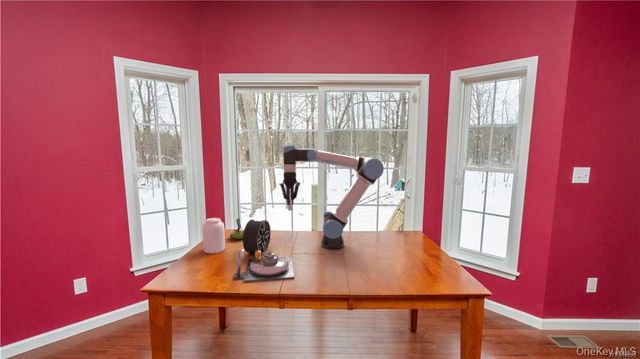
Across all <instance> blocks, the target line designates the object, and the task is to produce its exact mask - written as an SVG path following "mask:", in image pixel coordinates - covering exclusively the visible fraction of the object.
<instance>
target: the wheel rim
mask: <svg viewBox="0 0 640 359" xmlns="http://www.w3.org/2000/svg"><path fill="white" fill-rule="evenodd" d="M271 230H272V228H271V225H270V222H269V221H268V220H266V219H264V220H254V219H249V220H248V221H247V223H246V224H245V227H244V230H243V231H244V233H243V238H242V246H243V250H244V252H245V253H253V252H254V253H255V251H257V250H260V251H261V255H263V254H265V253H266V252H267V250H268V248H269V247H270V246H269V245H270V241H271V235H272V234H271Z"/></svg>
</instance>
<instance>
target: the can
mask: <svg viewBox="0 0 640 359" xmlns="http://www.w3.org/2000/svg"><path fill="white" fill-rule="evenodd" d="M225 236H226V235H225V224H224V222H223V221H221V218H220V217H210V218H207V219H205V223H203V225H202V244H203V252H204V253H205V254H218V253H221V252H223V251H225V249H226V240H225V238H226V237H225Z"/></svg>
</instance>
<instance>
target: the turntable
mask: <svg viewBox="0 0 640 359" xmlns="http://www.w3.org/2000/svg"><path fill="white" fill-rule="evenodd" d="M277 256H278V264H276V265H274V266H265V265H263V256H262V254H261V251H260V250H257V251H255V252H254V259H255V260H254V261H252V262H251V264H250V270H251V272H252V273H254V274H256V275H260V276H273V275H277V274H281V273H283V272H285V271H286V270H287V269H288V268H289V261H288V260H287V259H286V258H284V256H280V255H277Z"/></svg>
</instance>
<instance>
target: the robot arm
mask: <svg viewBox="0 0 640 359" xmlns="http://www.w3.org/2000/svg"><path fill="white" fill-rule="evenodd" d="M282 154H283V156H282V157H283V180H282V182H281V183H279V184H278V185H279V186H280V189H281V192H282V196H283V199H284V200H286V205H287V208H288V211H290V212H291V211H293V205H294V202H295V201H294V200H295V199H297V198H298V197H297V196H298V193H299V192H298V191H299V188H300V185H301V182H300V181H298V180H297V162H310V163H311V162H315V163H320V164H325V165H331V166H336V167H341V168H345V169H349V170H353V171H354V172H356V179H355V180H354V181H353V183H352V185H351V187H350V188H348V191H347V192H346V194H345V195H344V197H343V198H342V200H341V201H340V203H339V204H338V206H337V207H336V209H335V210H332V209H331V210H325V211H324V212H323V225H322V231H323V235H322V237H321V241H320V245H321V247H322V248H325V249H329V250H337V249H341V248H344V246H345V241H344V237H343V232H344V229H345V227H346V226H347V224H348V218H349V217H350V215H351V214H352V212H353V211H354V209H355V208H356V206H357V205H358V203H359V202H360V201H361V199H362V197H363V196H364V194H365V193H366V191H367V190H368V189H369V187H370V186H373V185H374V184H375V183H376V181H377V180H378V179H379V178H381V177H382V175H383V173H384V171H385V169H384V164H383V163H382V161H381V160H380V159H378V158H376V157H362V156H357V157H354V156H349V155H344V154H340V153H334V152H328V151H324V150H319V149H316V148H311V147H310V148H309V147H307V148H297V146H296V145H295V144H293V145H291V144H290V145H288V144H287V145H284V146H283V153H282Z"/></svg>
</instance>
